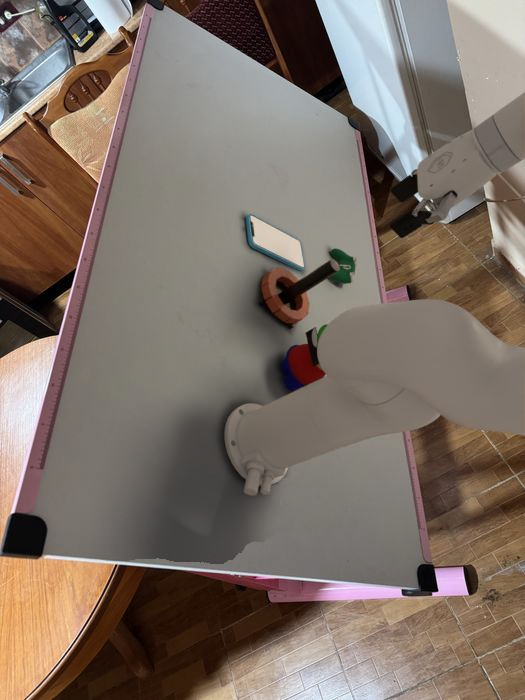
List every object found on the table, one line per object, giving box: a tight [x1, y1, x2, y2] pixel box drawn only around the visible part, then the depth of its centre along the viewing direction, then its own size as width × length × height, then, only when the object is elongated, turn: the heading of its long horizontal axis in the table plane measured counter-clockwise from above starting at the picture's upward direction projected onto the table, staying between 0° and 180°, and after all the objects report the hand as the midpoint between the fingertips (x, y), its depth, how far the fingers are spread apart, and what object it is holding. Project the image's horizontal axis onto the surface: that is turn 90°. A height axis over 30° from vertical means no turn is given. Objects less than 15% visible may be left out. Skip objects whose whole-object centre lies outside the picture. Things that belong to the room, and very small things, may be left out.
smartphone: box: [245, 213, 306, 272], centre depth 110 cm, size 8×1×15 cm
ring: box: [260, 267, 310, 325], centre depth 102 cm, size 10×10×2 cm
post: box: [258, 258, 340, 330], centre depth 99 cm, size 8×8×14 cm
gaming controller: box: [328, 248, 358, 285], centre depth 121 cm, size 9×4×6 cm
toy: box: [280, 323, 329, 392], centre depth 92 cm, size 9×9×15 cm
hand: (395, 213), depth 89 cm, fingers open, 9 cm apart
